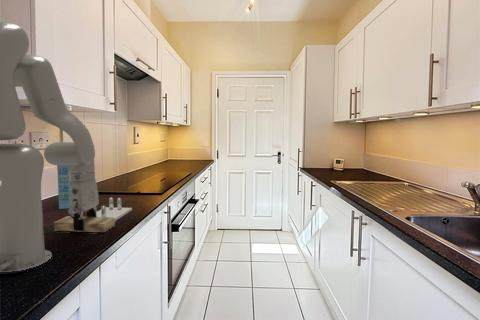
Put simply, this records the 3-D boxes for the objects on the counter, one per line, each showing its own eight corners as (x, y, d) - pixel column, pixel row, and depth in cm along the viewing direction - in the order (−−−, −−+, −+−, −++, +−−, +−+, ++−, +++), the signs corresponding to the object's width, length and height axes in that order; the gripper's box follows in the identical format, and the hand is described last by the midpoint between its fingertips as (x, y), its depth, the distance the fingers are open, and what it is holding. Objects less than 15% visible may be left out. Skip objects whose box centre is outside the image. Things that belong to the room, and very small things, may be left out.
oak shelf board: (115, 226, 104) (114, 217, 103) (104, 233, 97) (104, 224, 97) (68, 225, 105) (67, 216, 105) (54, 232, 98) (54, 222, 98)
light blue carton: (72, 199, 144) (70, 154, 142) (83, 198, 146) (81, 154, 143) (58, 209, 126) (55, 158, 123) (71, 208, 127) (68, 158, 124)
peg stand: (110, 224, 107) (110, 208, 106) (79, 223, 107) (78, 207, 107) (132, 209, 126) (131, 196, 125) (105, 209, 126) (105, 196, 126)
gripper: (78, 182, 90) (81, 235, 92) (106, 173, 107) (108, 218, 109) (55, 181, 90) (58, 235, 92) (86, 173, 108) (89, 218, 110)
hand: (85, 225), depth 101 cm, fingers closed on oak shelf board, 7 cm apart
